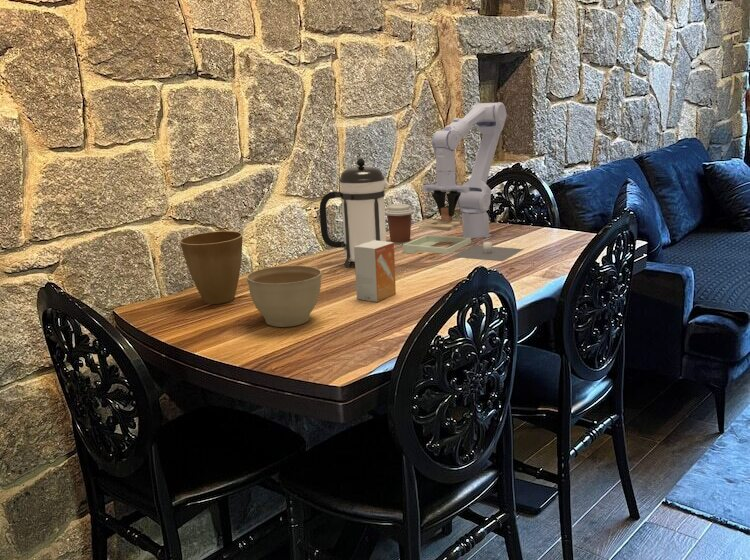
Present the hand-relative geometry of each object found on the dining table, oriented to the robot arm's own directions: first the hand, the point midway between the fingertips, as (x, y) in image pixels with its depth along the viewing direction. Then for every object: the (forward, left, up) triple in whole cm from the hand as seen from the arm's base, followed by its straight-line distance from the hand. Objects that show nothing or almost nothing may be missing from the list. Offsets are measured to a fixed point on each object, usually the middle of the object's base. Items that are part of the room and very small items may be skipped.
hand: (446, 215), depth 220 cm
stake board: (+6, +16, -10) cm, 20 cm away
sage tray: (+3, -2, -10) cm, 11 cm away
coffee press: (+27, -14, -10) cm, 32 cm away
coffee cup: (-2, -18, -10) cm, 21 cm away
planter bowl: (+78, 0, -10) cm, 79 cm away
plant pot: (+72, -27, -10) cm, 78 cm away
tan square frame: (+4, 0, -2) cm, 5 cm away
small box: (+55, +8, -10) cm, 56 cm away
